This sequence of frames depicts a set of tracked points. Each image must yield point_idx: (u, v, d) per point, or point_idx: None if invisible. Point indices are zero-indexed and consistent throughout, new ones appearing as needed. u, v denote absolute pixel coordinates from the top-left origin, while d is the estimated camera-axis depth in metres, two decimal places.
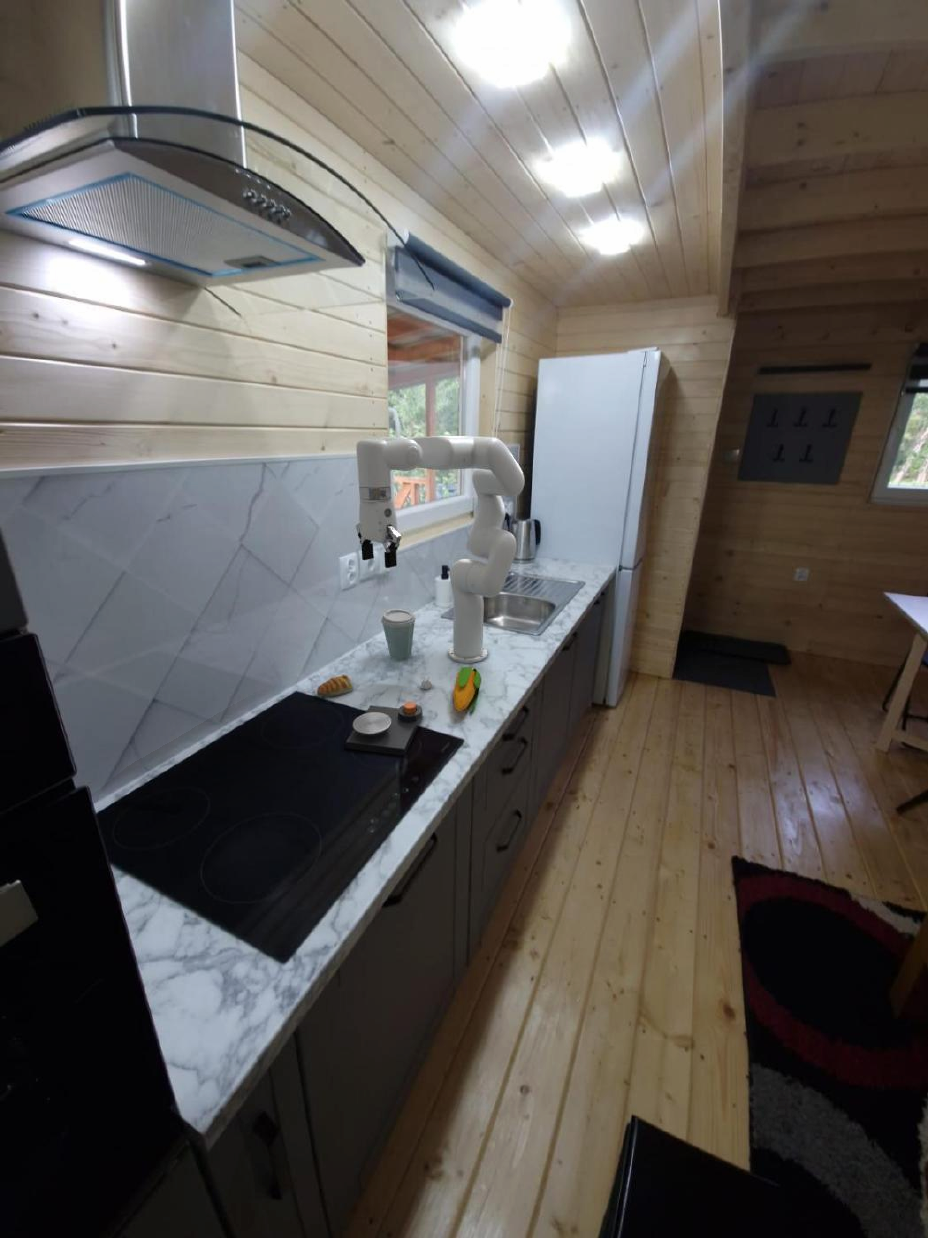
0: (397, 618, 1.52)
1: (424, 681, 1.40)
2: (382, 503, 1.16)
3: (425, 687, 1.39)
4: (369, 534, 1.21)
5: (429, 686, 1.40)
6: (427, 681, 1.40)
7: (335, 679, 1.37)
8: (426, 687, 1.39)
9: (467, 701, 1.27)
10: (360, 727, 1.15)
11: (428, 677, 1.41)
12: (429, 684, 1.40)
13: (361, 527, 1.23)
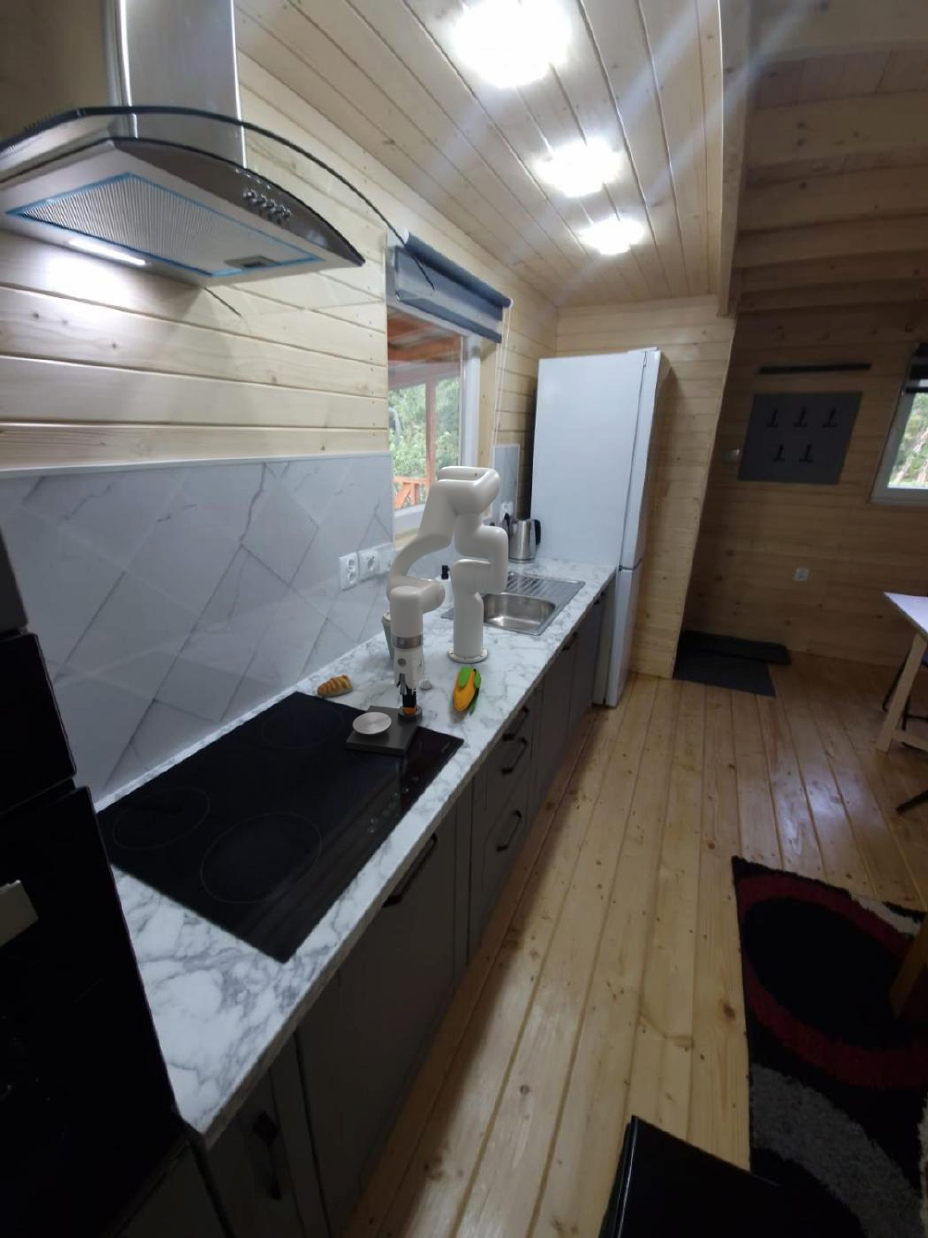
0: None
1: (424, 681, 1.40)
2: (397, 652, 1.13)
3: (425, 687, 1.39)
4: None
5: (429, 686, 1.40)
6: (427, 681, 1.40)
7: (335, 679, 1.37)
8: (426, 687, 1.39)
9: (467, 701, 1.27)
10: (360, 727, 1.15)
11: (428, 677, 1.41)
12: (429, 684, 1.40)
13: None
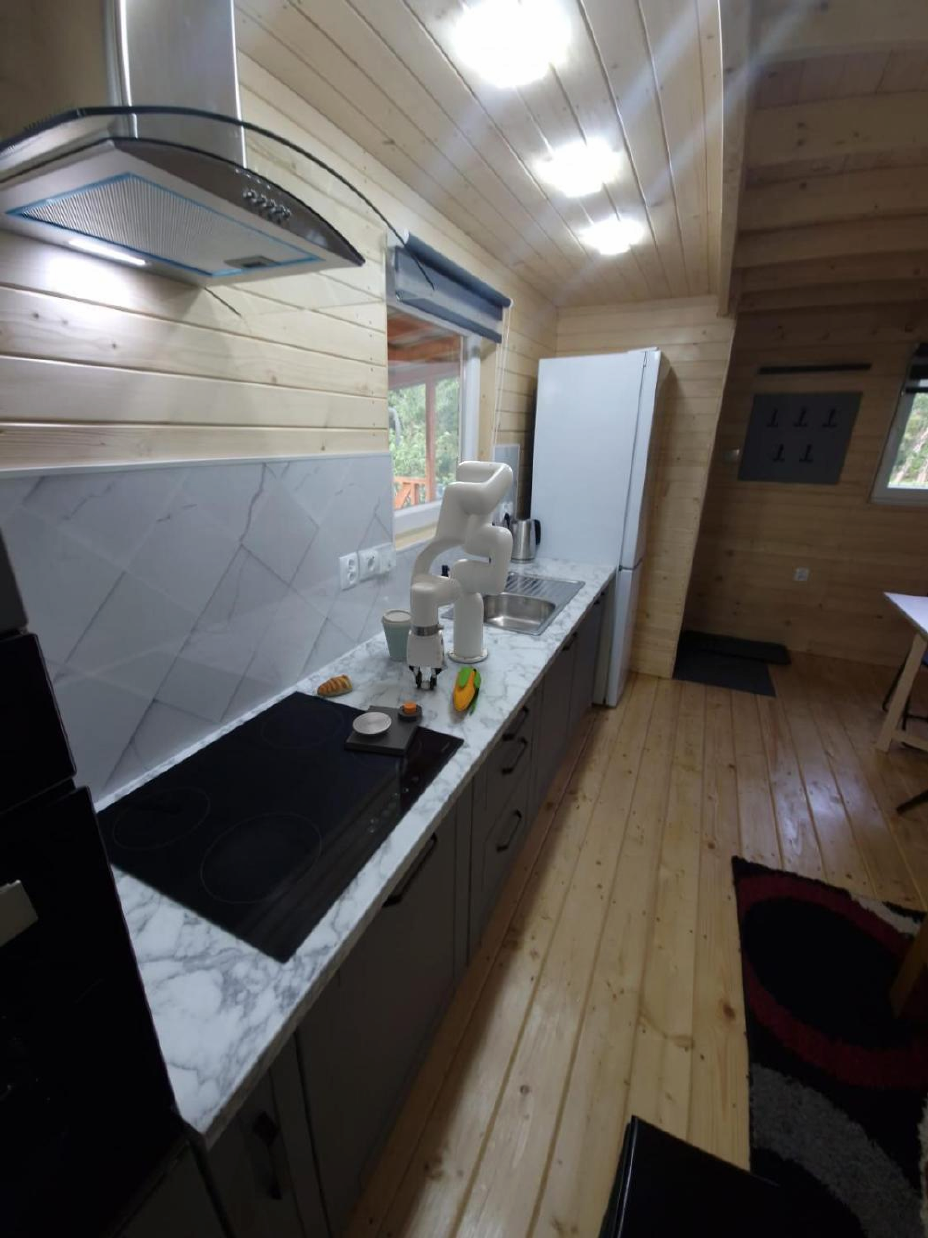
0: (397, 618, 1.52)
1: (424, 681, 1.40)
2: (439, 636, 1.33)
3: (425, 687, 1.39)
4: (422, 662, 1.36)
5: (429, 686, 1.40)
6: (427, 681, 1.40)
7: (335, 679, 1.37)
8: (426, 687, 1.39)
9: (467, 701, 1.27)
10: (360, 727, 1.15)
11: (428, 677, 1.41)
12: (429, 684, 1.40)
13: (410, 657, 1.36)
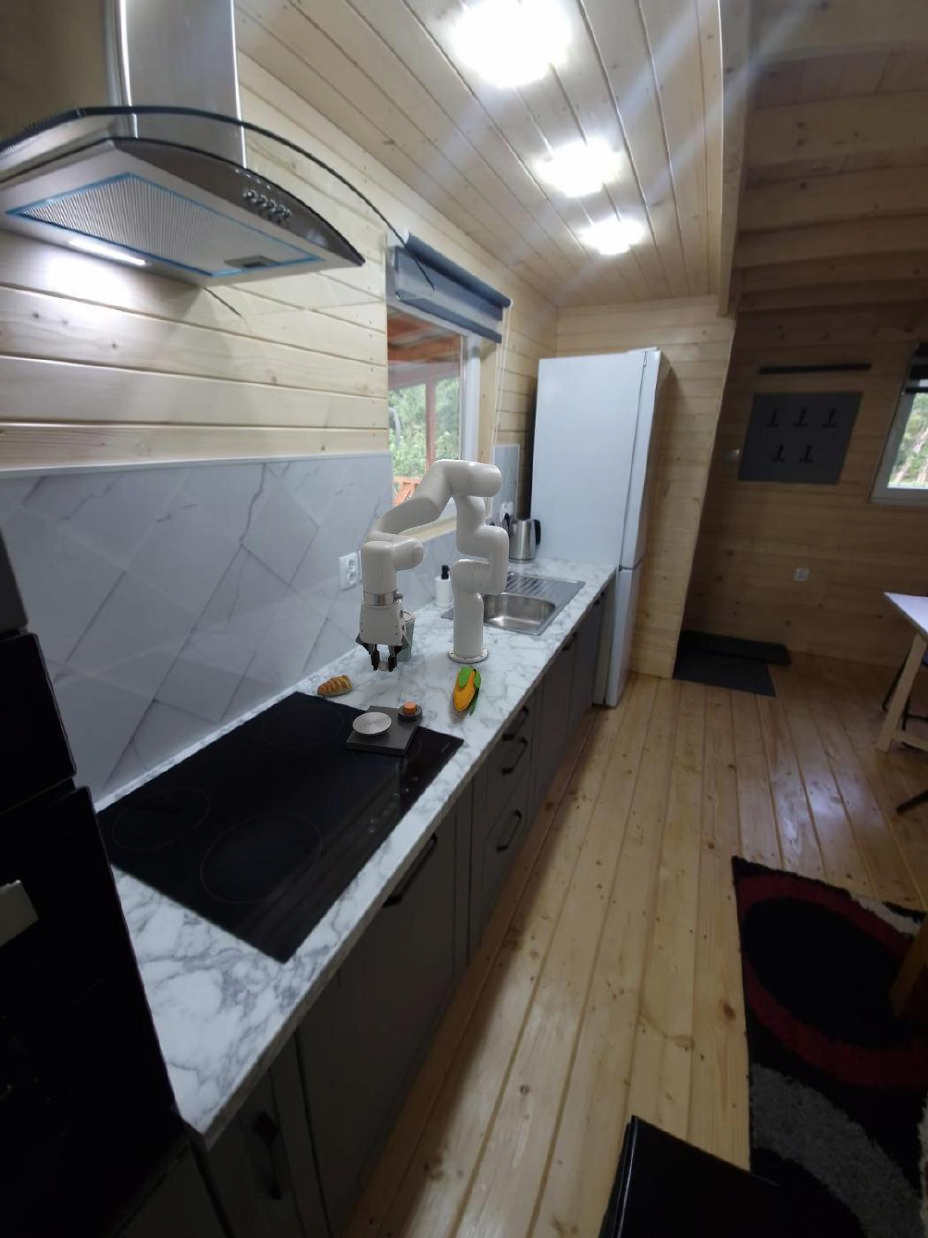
0: None
1: (382, 661, 1.17)
2: (397, 606, 1.10)
3: (383, 669, 1.17)
4: (378, 639, 1.13)
5: None
6: (385, 662, 1.17)
7: (335, 679, 1.37)
8: (384, 669, 1.17)
9: (467, 701, 1.27)
10: (360, 727, 1.15)
11: (387, 657, 1.19)
12: None
13: (364, 632, 1.13)
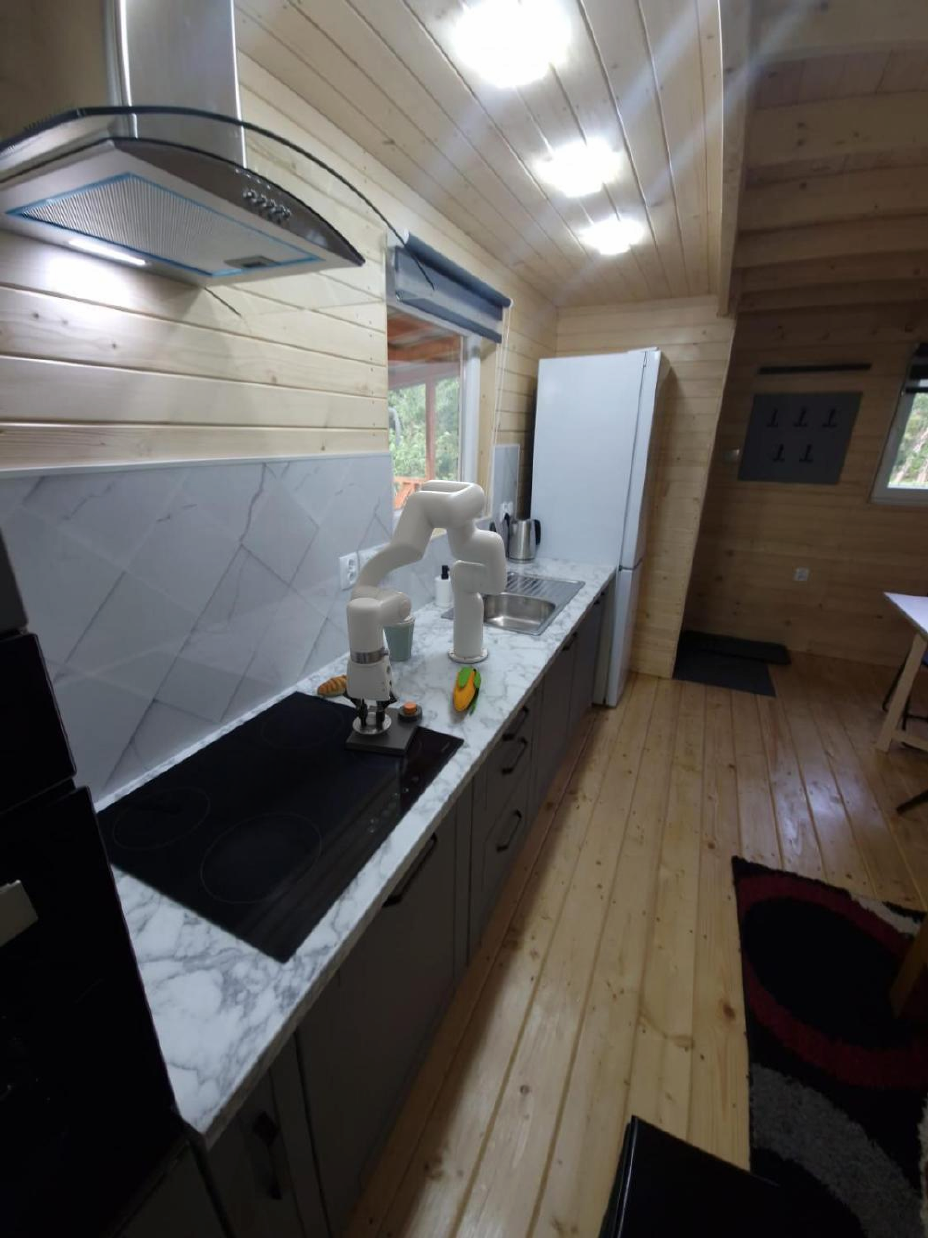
0: None
1: (370, 715, 1.16)
2: (384, 663, 1.09)
3: (370, 723, 1.16)
4: (365, 694, 1.12)
5: (375, 721, 1.16)
6: (373, 715, 1.16)
7: (335, 679, 1.37)
8: (371, 723, 1.16)
9: (467, 701, 1.27)
10: (360, 727, 1.15)
11: (375, 710, 1.17)
12: (375, 719, 1.16)
13: (351, 688, 1.12)
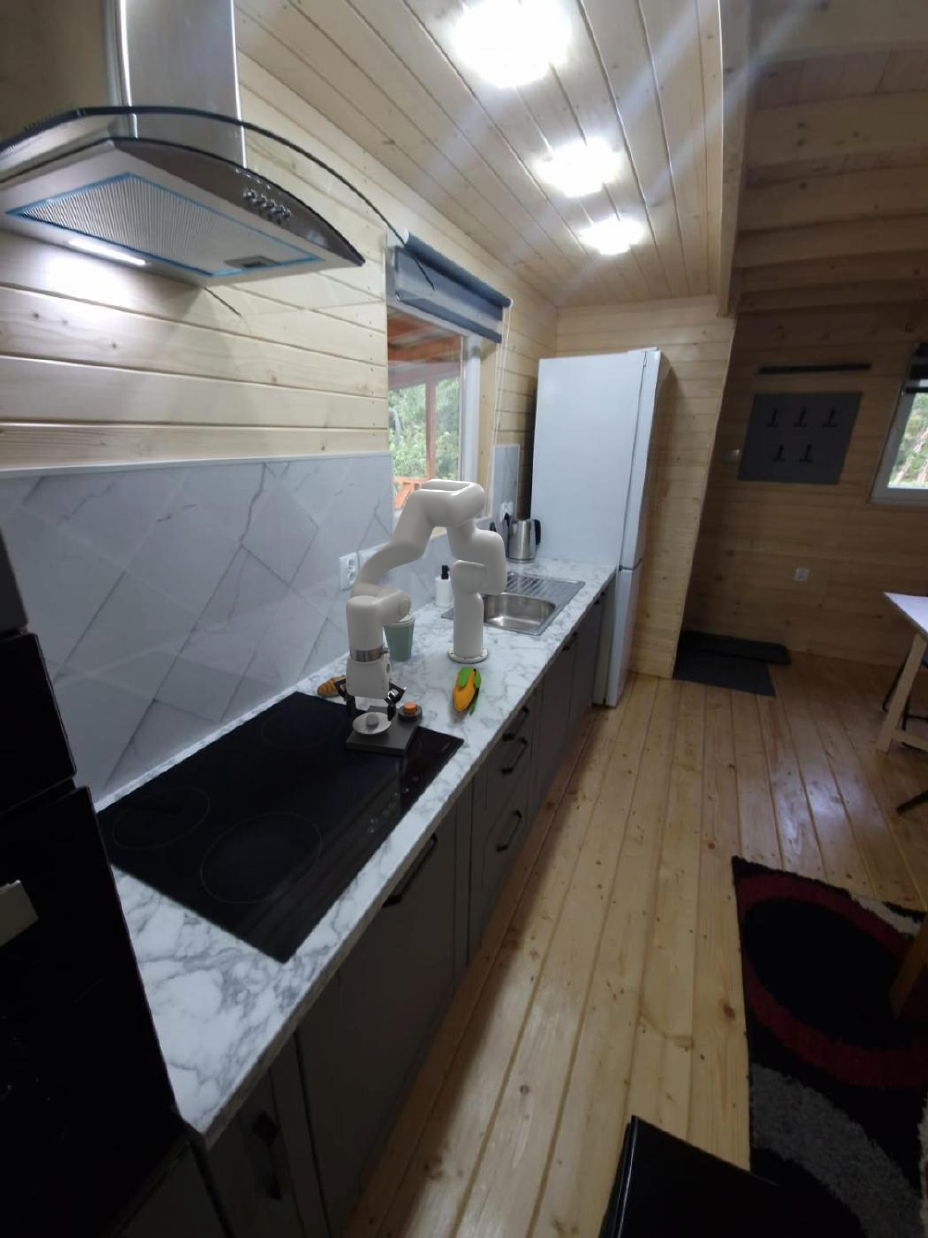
0: None
1: (370, 715, 1.16)
2: (383, 661, 1.09)
3: (370, 723, 1.16)
4: (365, 692, 1.12)
5: (375, 721, 1.16)
6: (373, 715, 1.16)
7: (335, 679, 1.37)
8: (371, 723, 1.16)
9: (467, 701, 1.27)
10: (360, 727, 1.15)
11: (375, 710, 1.17)
12: (375, 719, 1.16)
13: (350, 686, 1.12)
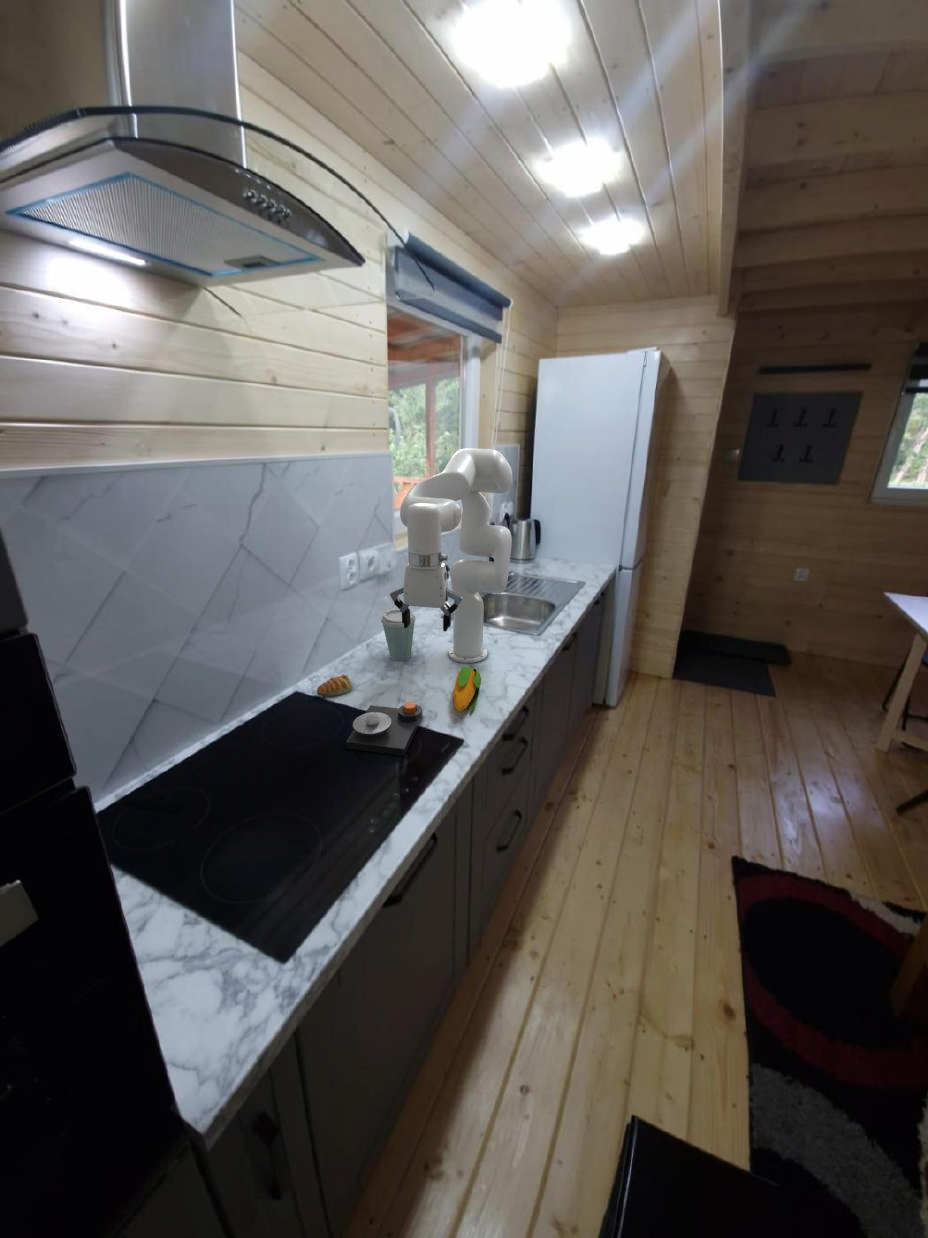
0: (397, 618, 1.52)
1: (370, 715, 1.16)
2: (442, 568, 1.12)
3: (370, 723, 1.16)
4: (422, 601, 1.15)
5: (375, 721, 1.16)
6: (373, 715, 1.16)
7: (335, 679, 1.38)
8: (371, 723, 1.16)
9: (467, 701, 1.27)
10: (360, 727, 1.15)
11: (375, 710, 1.17)
12: (375, 719, 1.16)
13: (408, 595, 1.15)
